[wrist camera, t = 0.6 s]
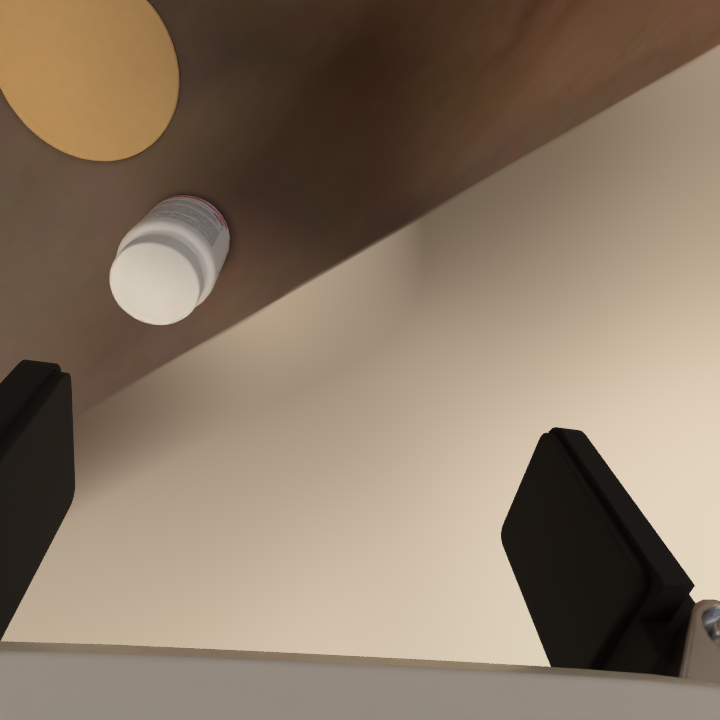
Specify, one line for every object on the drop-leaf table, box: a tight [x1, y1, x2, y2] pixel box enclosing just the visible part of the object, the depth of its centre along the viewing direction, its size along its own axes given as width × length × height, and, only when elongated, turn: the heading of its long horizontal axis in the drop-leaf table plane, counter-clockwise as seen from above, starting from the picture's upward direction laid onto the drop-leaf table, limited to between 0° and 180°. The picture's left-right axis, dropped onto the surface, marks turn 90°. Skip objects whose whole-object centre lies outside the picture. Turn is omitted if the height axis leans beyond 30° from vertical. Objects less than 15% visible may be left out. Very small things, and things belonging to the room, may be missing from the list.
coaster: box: [0, 0, 180, 161], centre depth 29 cm, size 9×9×1 cm
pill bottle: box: [109, 195, 230, 325], centre depth 29 cm, size 5×5×8 cm
